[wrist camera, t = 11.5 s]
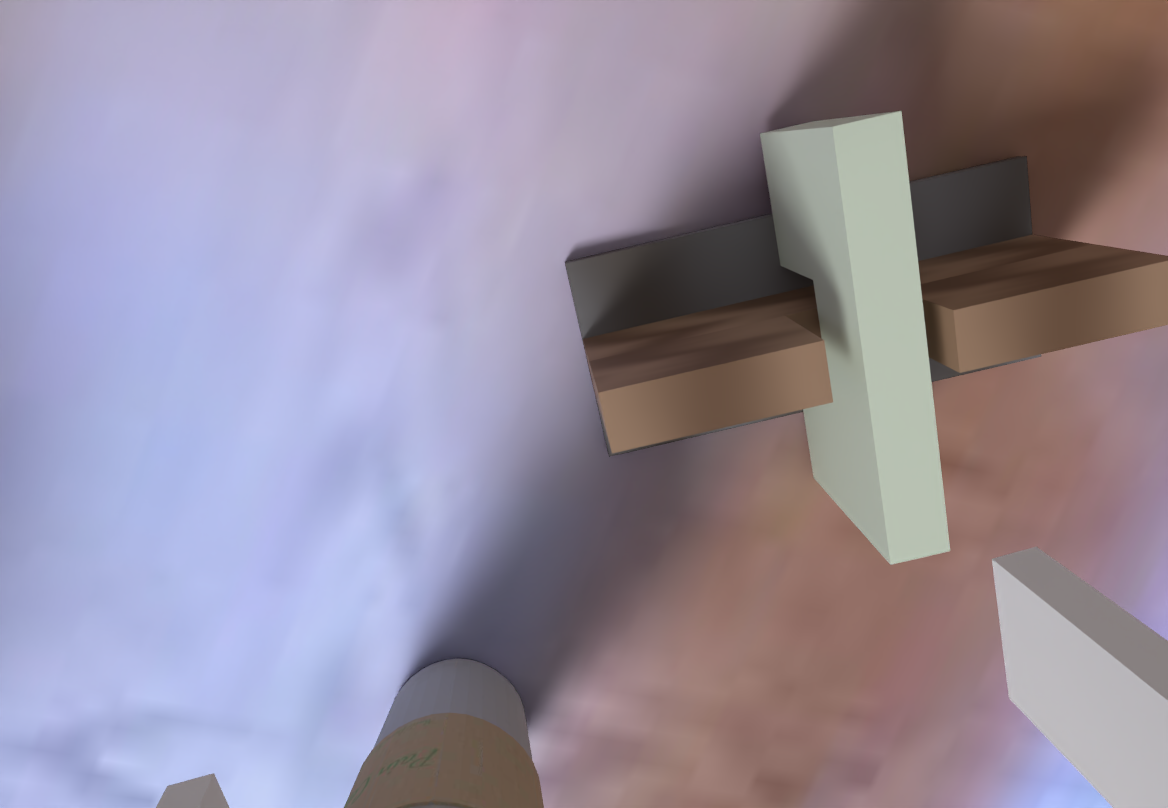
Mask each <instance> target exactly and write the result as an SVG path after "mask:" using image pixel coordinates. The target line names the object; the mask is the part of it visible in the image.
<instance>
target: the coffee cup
mask: <svg viewBox="0 0 1168 808" xmlns="http://www.w3.org/2000/svg"><path fill="white" fill-rule="evenodd" d="M344 808H544V805H543V799H542V793H541V787H540V781H539V776H538V774H537V771H536V769H535V766H534V763H533V761H532V755H531V749H530V743H529V737H528V730H527V724H526V718H525V712H524V707H523V704H522V702H521V699H520V696H519V695H518V693H517V691H516V690H515V688H514V687H513V685H512V684H511V683H510V682H509V681H508V680H507V679H506V678H505V677H504V676H503V675H501V674H500V673H499V672H497V671H496V670H495V669H493V668H491V667H489V666H487V665H485V664H483V663H480V662H477V661H474V660H469V659H460V658H457V659H447V660H443V661H440V662H436V663H433V664H431V665H429V666H427V667H425V668H423V669H422V670H420V671H419V672H418V673H416V674H415V675H414V676H412V677H411V678H410V679H409V680H408V681H407V682H406V683H405V684H404V685H403V687H402V688H401V690H400V691H399V693H398V694H397V696H396V697H395V700H394V702H393V704H392V707H391V709H390V711H389V714H388V716H387V718H386V721H385V723H384V725H383V728H382V730H381V732H380V735H379V737H378V739H377V742H376V744H375V746H374V749H373V750H372V751H371V753H370V754H369V756H368V757H367V759H366V760H365V762H364V763H363V765H362V767H361V769H360V772H359V774H358V776H357V779H356V781H355V783H354V786H353V788H352V790H351V793H350V795H349V797H348V800H347V802H346V804H345V807H344Z"/></svg>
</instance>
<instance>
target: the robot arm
mask: <svg viewBox="0 0 1168 808" xmlns="http://www.w3.org/2000/svg"><path fill="white" fill-rule="evenodd" d="M992 564H993V572H994V580H995V588H996V596H997V604H998V612H999V621H1000V629H1001V637H1002V645H1003V653H1004V661H1005V669H1006V677H1007V685H1008V694H1009V699H1010V700H1011V701H1012V702H1013V703H1014V704H1015V705H1016V706H1017V707H1018V708H1019V709H1020V710H1021V711H1022V712H1023V713H1024V714H1025V715H1026V716H1027V718H1028V719H1029V720H1030V721H1031V722H1032V723H1033V724H1034V725H1035V726H1036V727H1037V728H1038V729H1039V730H1040V731H1041V732H1042V733H1043V734H1044V735H1045V736H1046V738H1047V739H1048V740H1049V741H1050V742H1051V743H1052V744H1053V745H1054V746H1055V747H1056V748H1057V749H1058V750H1059V751H1060V752H1061V753H1062V754H1063V755H1064V756H1065V757H1066V759H1067V760H1068V761H1069V762H1070V763H1071V764H1072V765H1073V766H1074V767H1075V768H1076V769H1077V770H1078V771H1079V772H1080V773H1081V774H1082V775H1083V776H1084V777H1085V778H1086V780H1087V781H1088V782H1089V783H1090V784H1091V785H1092V786H1093V787H1094V788H1095V789H1096V790H1097V791H1098V792H1099V793H1100V794H1101V795H1102V796H1103V797H1104V798H1105V800H1106V801H1107V802H1108V803H1109V804H1110V805H1111V806H1112V807H1113V808H1168V641H1167V640H1166V639H1164V638H1163V637H1161V636H1160V635H1159V634H1157V633H1156V632H1154V631H1153V630H1152V629H1150V628H1149V627H1148V626H1146V625H1145V624H1143V623H1142V622H1141V621H1139V620H1138V619H1136V618H1135V617H1134V616H1132V615H1131V614H1129V613H1128V612H1127V611H1125V610H1124V609H1122V608H1121V607H1120V606H1118V605H1117V604H1115V603H1114V602H1113V601H1111V600H1110V599H1108V598H1107V597H1106V596H1104V595H1103V594H1102V593H1100V592H1099V591H1097V590H1096V589H1095V588H1093V587H1092V586H1090V585H1089V584H1088V583H1086V582H1085V581H1083V580H1082V579H1081V578H1079V577H1078V576H1076V575H1075V574H1074V573H1072V572H1071V571H1069V570H1068V569H1067V568H1065V567H1064V566H1062V565H1061V564H1060V563H1058V562H1057V561H1056V560H1054V559H1053V558H1051V557H1050V556H1049V555H1047V554H1046V553H1044V552H1043V551H1042V550H1040V549H1039V548H1037V547H1033V548H1030V549H1026V550H1022V551H1019V552H1015V553H1011V554H1008V555H1004V556H1001V557H997V558H993V559H992ZM156 808H229V806H228V804H227V801H226V799H225V797H224V795H223V792H222V790H221V788H220V786H219V784H218V781H217V779H216V777H215V775H214V773H213V774H209V775H206V776H202V777H199V778H195V779H191V780H188V781H184V782H180V783H177V784H173V785H169V786H167V788H166V790H165V792H164V793H163V795H162V797H161V799H160V801H159V803H158V805H157V807H156Z"/></svg>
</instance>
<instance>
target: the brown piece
mask: <svg viewBox="0 0 1168 808" xmlns="http://www.w3.org/2000/svg"><path fill="white" fill-rule="evenodd" d="M909 184H910V193H911V202H912V211H913V220H914V229H915V238H916V247H917V256H918V265H919V274H920V283H921V293H922V302H923V311H924V320H925V329H926V338H927V347H928V356H929V365H930V374H931V382H933V381H938V380H942V379H946V378H951V377H955V376H959V375H964V374H968V373H972V372H976V371H981V370H985V369H989V368H994V367H998V366H1002V365H1007V364H1011V363H1015V362H1020V361H1024V360H1028V359H1033V358H1037V357H1041V354H1044V353H1048V352H1052V351H1057V350H1061V349H1065V348H1070V347H1074V346H1078V345H1083V344H1087V343H1091V342H1095V341H1100V340H1104V339H1108V338H1113V337H1117V336H1121V335H1126V334H1130V333H1134V332H1139V331H1143V330H1147V329H1152V328H1156V327H1160V326H1165V325H1168V256H1165V255H1159V254H1152V253H1146V252H1140V251H1133V250H1127V249H1121V248H1114V247H1108V246H1102V245H1095V244H1089V243H1083V242H1076V241H1070V240H1064V239H1057V238H1051V237H1045V236H1038V235H1032V223H1031V209H1030V196H1029V182H1028V168H1027V156H1018V157H1014V158H1009V159H1005V160H1001V161H996V162H992V163H988V164H983V165H979V166H975V167H971V168H966V169H962V170H958V171H953V172H949V173H945V174H940V175H936V176H932V177H927V178H923V179H919V180H915V181H910V182H909ZM565 266H566V270H567V274H568V279H569V283H570V288H571V292H572V296H573V301H574V305H575V310H576V314H577V318H578V323H579V327H580V331H581V336H582V340H583V345H584V349H585V353H586V358H587V362H588V366H589V371H590V375H591V380H592V384H593V388H594V393H595V397H596V402H597V406H598V410H599V415H600V419H601V423H602V428H603V432H604V437H605V441H606V445H607V450H608V454H609V457H610V456H614V455H618V454H623V453H627V452H631V451H636V450H640V449H644V448H649V447H653V446H657V445H662V444H666V443H670V442H674V441H679V440H683V439H687V438H692V437H696V436H700V435H705V434H709V433H713V432H718V431H722V430H726V429H731V428H735V427H739V426H744V425H748V424H752V423H756V422H761V421H765V420H769V419H774V418H778V417H782V416H787V415H791V414H795V413H800V412H803V409H806V408H811V407H815V406H819V405H824V404H828V403H832V402H833V397H832V390H831V383H830V376H829V370H828V363H827V356H826V349H825V342H824V340H823V339H822V338H821V331H820V324H819V317H818V310H817V303H816V297H815V290H814V283H813V280H812V279H810V278H807V277H805V276H803V275H801V274H798V273H796V272H794V271H791V270H789V269H787V268H785V267H782V266H781V265H780V259H779V252H778V246H777V240H776V233H775V227H774V220H773V214H768V215H764V216H760V217H755V218H751V219H747V220H742V221H738V222H734V223H729V224H725V225H721V226H717V227H712V228H708V229H704V230H699V231H695V232H691V233H686V234H682V235H678V236H674V237H669V238H665V239H661V240H656V241H652V242H648V243H643V244H639V245H635V246H630V247H626V248H622V249H618V250H613V251H609V252H605V253H600V254H596V255H592V256H587V257H583V258H579V259H575V260H570V261H566V262H565Z"/></svg>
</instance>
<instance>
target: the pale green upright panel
mask: <svg viewBox="0 0 1168 808" xmlns="http://www.w3.org/2000/svg"><path fill="white" fill-rule="evenodd" d="M760 137H761V144H762V150H763V157H764V163H765V169H766V176H767V182H768V188H769V195H770V201H771V208H772V214H773V220H774V227H775V233H776V240H777V246H778V252H779V259H780V265H781V266H782V267H785V268H787V269H789V270H791V271H794V272H796V273H798V274H801V275H803V276H805V277H807V278H810V279H812V280H813V283H814V290H815V297H816V303H817V310H818V317H819V324H820V331H821V338H822V339H823V340H824V342H825V349H826V356H827V363H828V370H829V376H830V383H831V390H832V397H833V402H832V403H828V404H824V405H819V406H815V407H811V408H806V409H803V412H804V419H805V425H806V432H807V438H808V444H809V451H810V457H811V463H812V470H813V476H814V479H815V480H816V481H817V482H818V483H819V484H820V485H821V487H822V488H823V489H824V490H825V491H826V492H827V493H828V495H829V496H830V497H831V498H832V499H833V500H834V501H835V502H836V504H837V505H838V506H839V507H840V508H841V509H842V510H843V511H844V513H845V514H846V515H847V516H848V517H849V518H850V519H851V521H852V522H853V523H854V524H855V525H856V526H857V527H858V528H859V530H860V531H861V532H862V533H863V534H864V535H865V536H866V537H867V539H868V540H869V541H870V542H871V543H872V544H873V545H874V547H875V548H876V549H877V550H878V551H879V552H880V553H881V554H882V556H883V557H884V558H885V559H886V560H887V561H888V562H889V563H890V565H892V564H896V563H900V562H905V561H909V560H913V559H918V558H922V557H926V556H931V555H935V554H939V553H944V552H948V551H950V545H949V536H948V527H947V518H946V509H945V500H944V491H943V482H942V473H941V464H940V455H939V446H938V437H937V428H936V419H935V410H934V401H933V392H932V383H931V374H930V365H929V356H928V347H927V338H926V329H925V320H924V311H923V302H922V293H921V283H920V274H919V265H918V256H917V247H916V238H915V229H914V220H913V211H912V202H911V193H910V184H909V175H908V166H907V157H906V148H905V139H904V130H903V121H902V112H901V111H896V112H887V113H879V114H870V115H862V116H853V117H845V118H836V119H828V120H820V121H812V122H807V123H803V124H799V125H795V126H790V127H786V128H782V129H777V130H773V131H769V132H764V133H760Z"/></svg>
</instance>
